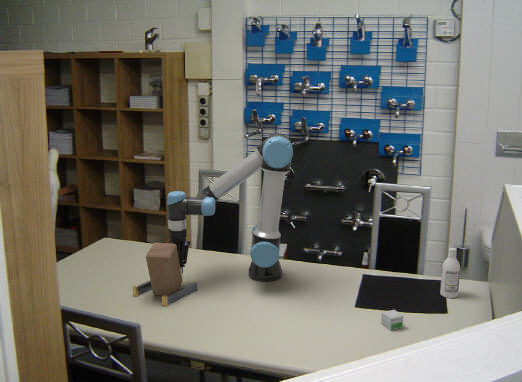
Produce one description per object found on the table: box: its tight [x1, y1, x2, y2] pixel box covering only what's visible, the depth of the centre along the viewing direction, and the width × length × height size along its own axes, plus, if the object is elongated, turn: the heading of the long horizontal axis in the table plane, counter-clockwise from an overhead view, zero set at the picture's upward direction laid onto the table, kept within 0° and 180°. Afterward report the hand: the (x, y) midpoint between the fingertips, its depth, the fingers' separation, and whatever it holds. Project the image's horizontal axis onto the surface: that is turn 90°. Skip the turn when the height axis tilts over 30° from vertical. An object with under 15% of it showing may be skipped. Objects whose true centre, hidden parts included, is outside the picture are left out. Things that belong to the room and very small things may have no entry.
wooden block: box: [145, 242, 183, 297], centre depth 221 cm, size 10×10×20 cm
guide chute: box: [132, 280, 198, 308], centre depth 225 cm, size 18×19×4 cm
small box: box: [380, 309, 404, 331], centre depth 196 cm, size 6×6×5 cm
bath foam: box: [439, 247, 461, 299], centre depth 221 cm, size 7×7×20 cm
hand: (179, 281), depth 232 cm, fingers closed
